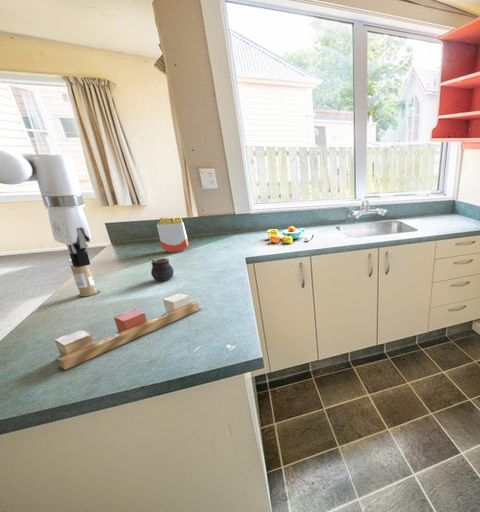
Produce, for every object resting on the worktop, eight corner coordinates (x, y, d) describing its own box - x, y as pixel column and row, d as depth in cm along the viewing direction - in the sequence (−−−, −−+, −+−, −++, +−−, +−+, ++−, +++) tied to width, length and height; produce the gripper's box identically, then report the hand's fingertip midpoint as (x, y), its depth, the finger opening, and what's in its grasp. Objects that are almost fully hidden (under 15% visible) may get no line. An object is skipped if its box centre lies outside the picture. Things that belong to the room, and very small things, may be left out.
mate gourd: (174, 280, 118) (169, 256, 115) (150, 284, 114) (144, 259, 111) (175, 274, 124) (170, 251, 121) (153, 277, 120) (147, 254, 117)
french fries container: (165, 250, 155) (157, 216, 150) (189, 248, 159) (182, 215, 154) (163, 253, 151) (155, 218, 146) (188, 250, 155) (181, 217, 150)
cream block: (176, 316, 91) (172, 302, 89) (166, 313, 93) (163, 299, 91) (192, 309, 95) (189, 295, 94) (182, 306, 97) (179, 292, 96)
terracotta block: (128, 337, 80) (123, 321, 79) (118, 332, 82) (113, 317, 81) (148, 328, 85) (144, 313, 83) (139, 324, 87) (134, 309, 85)
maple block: (70, 363, 70) (63, 345, 68) (61, 357, 72) (54, 339, 71) (97, 351, 74) (91, 334, 73) (87, 346, 76) (81, 329, 75)
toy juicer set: (267, 245, 166) (265, 232, 164) (268, 237, 183) (266, 225, 180) (318, 241, 175) (318, 229, 173) (315, 234, 192) (314, 223, 189)
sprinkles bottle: (100, 292, 107) (89, 257, 103) (85, 297, 103) (73, 261, 98) (91, 290, 108) (80, 255, 104) (76, 295, 104) (64, 259, 100)
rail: (65, 369, 68) (61, 360, 67) (61, 367, 69) (57, 358, 68) (199, 309, 95) (198, 302, 95) (195, 308, 96) (194, 301, 95)
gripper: (32, 200, 80) (52, 264, 85) (57, 205, 74) (76, 274, 79) (70, 198, 87) (86, 258, 92) (95, 202, 80) (111, 266, 86)
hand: (81, 265), depth 86 cm, fingers closed
